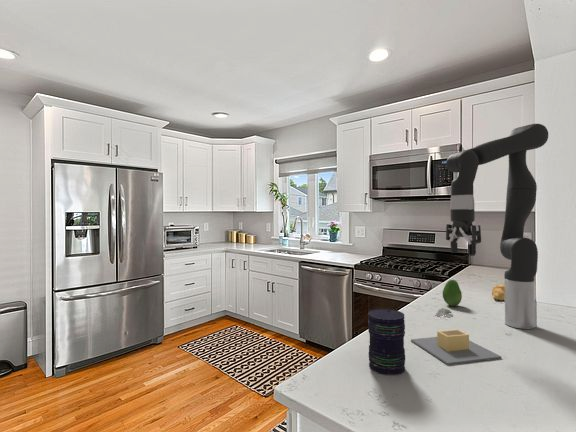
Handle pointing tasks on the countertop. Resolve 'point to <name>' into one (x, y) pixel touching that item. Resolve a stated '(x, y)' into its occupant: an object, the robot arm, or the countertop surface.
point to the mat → (455, 352)
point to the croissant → (499, 292)
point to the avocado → (452, 293)
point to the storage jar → (386, 341)
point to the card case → (453, 340)
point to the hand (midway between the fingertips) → (462, 254)
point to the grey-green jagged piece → (444, 313)
